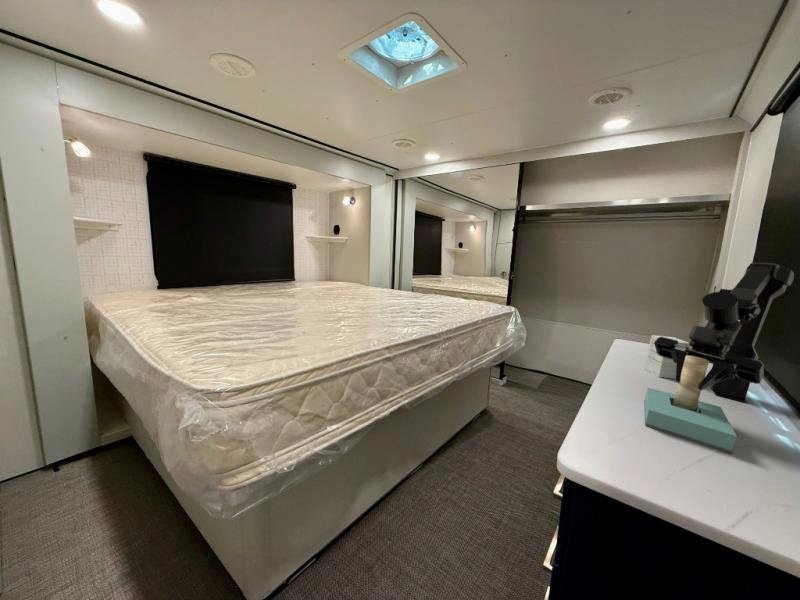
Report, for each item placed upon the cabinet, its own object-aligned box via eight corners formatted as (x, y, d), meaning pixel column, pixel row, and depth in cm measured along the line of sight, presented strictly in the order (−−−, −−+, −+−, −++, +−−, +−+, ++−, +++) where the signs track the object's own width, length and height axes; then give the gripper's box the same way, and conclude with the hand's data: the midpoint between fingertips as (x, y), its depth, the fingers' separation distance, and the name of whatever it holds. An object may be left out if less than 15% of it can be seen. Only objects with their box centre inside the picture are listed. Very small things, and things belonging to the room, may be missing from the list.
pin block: (716, 421, 75) (720, 406, 74) (731, 453, 63) (736, 436, 62) (644, 400, 84) (647, 387, 83) (645, 425, 71) (648, 409, 70)
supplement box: (665, 370, 108) (673, 336, 106) (682, 379, 101) (691, 343, 99) (643, 368, 109) (650, 334, 107) (658, 377, 102) (666, 341, 99)
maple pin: (687, 410, 76) (701, 357, 73) (698, 419, 72) (713, 363, 69) (668, 407, 77) (681, 354, 74) (678, 415, 73) (692, 360, 70)
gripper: (665, 306, 80) (636, 351, 76) (775, 325, 64) (744, 383, 61) (672, 332, 85) (644, 376, 82) (774, 356, 69) (745, 411, 66)
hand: (688, 384), depth 72 cm, fingers closed on maple pin, 4 cm apart
